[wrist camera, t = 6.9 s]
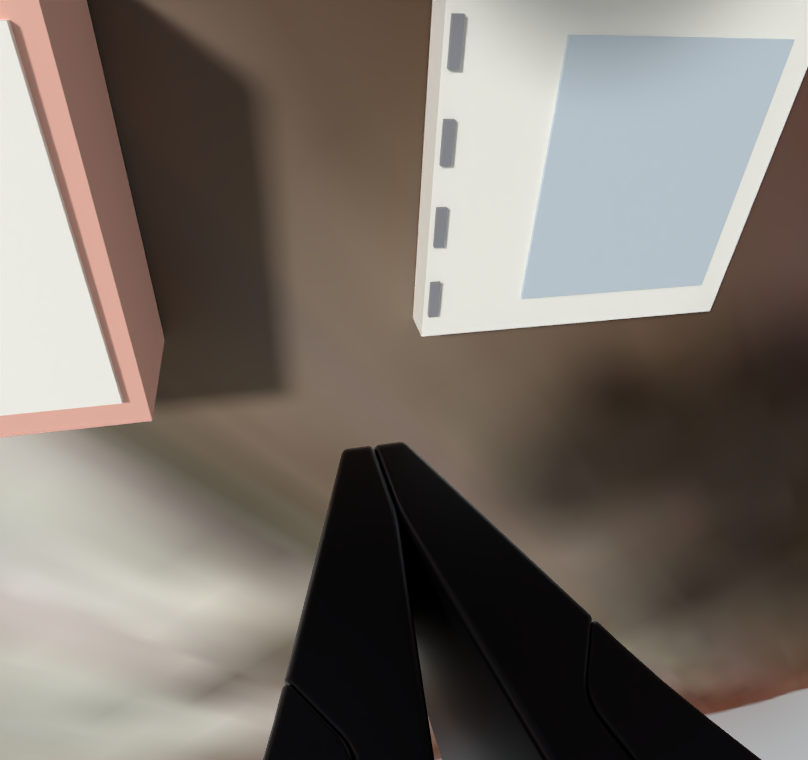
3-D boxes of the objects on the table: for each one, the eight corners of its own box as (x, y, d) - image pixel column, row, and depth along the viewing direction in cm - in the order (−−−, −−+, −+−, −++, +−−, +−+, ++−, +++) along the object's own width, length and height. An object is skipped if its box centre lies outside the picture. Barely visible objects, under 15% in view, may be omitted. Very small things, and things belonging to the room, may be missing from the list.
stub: (76, -46, 13) (26, -36, 10) (164, 339, 19) (151, 424, 16) (-165, -56, 12) (-306, -48, 9) (7, 352, 18) (-41, 445, 15)
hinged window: (805, -15, 17) (843, -11, 16) (690, 295, 23) (712, 312, 22) (434, -31, 15) (450, -27, 14) (412, 317, 21) (422, 338, 20)
